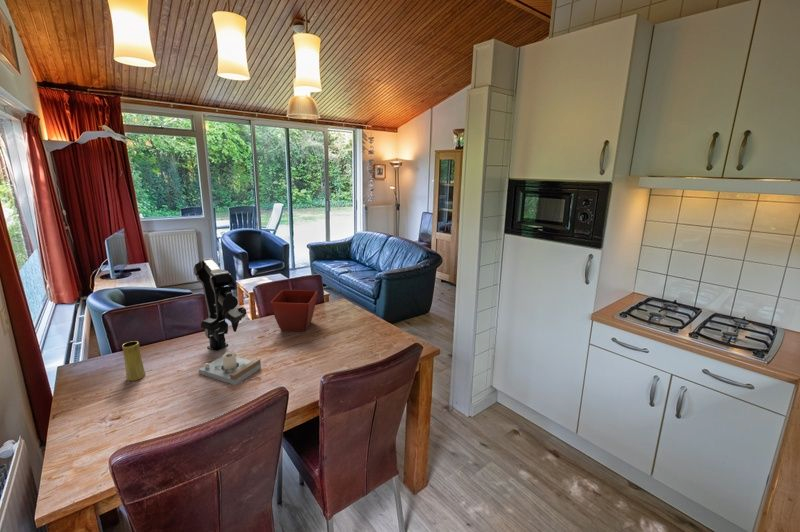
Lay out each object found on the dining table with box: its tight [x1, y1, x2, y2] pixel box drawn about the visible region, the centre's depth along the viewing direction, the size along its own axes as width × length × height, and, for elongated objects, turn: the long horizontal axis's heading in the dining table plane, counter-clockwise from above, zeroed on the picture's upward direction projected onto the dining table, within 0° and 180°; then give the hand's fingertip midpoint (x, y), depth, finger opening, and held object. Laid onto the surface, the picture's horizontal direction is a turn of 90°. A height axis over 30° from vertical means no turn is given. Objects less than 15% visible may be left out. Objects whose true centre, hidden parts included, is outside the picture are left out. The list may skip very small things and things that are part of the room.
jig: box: [198, 351, 262, 386], centre depth 153 cm, size 19×14×4 cm
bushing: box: [221, 352, 237, 371], centre depth 153 cm, size 5×5×7 cm
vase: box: [121, 340, 146, 382], centre depth 146 cm, size 6×6×14 cm
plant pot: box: [270, 289, 318, 332], centre depth 195 cm, size 19×19×17 cm
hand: (226, 335), depth 159 cm, fingers open, 9 cm apart
